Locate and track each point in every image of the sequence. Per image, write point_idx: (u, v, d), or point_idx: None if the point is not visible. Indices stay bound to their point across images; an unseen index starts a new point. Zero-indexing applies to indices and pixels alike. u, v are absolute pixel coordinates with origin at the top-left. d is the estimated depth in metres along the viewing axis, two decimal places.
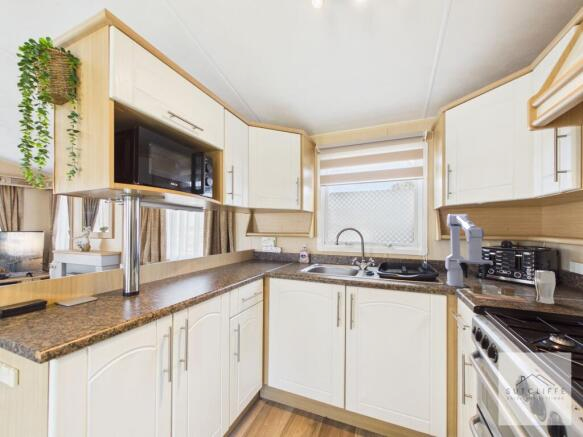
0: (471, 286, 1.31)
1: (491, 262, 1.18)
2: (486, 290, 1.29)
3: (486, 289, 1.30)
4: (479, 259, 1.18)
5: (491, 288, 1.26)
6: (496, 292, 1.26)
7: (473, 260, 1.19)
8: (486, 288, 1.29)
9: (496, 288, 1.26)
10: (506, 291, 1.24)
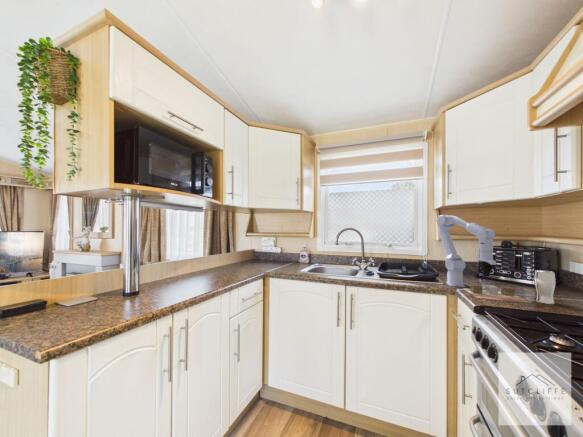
0: (471, 286, 1.31)
1: (490, 262, 1.24)
2: (486, 290, 1.29)
3: (486, 289, 1.30)
4: (481, 257, 1.30)
5: (491, 288, 1.26)
6: (496, 292, 1.26)
7: (479, 258, 1.32)
8: (486, 288, 1.29)
9: (496, 288, 1.26)
10: (506, 291, 1.24)
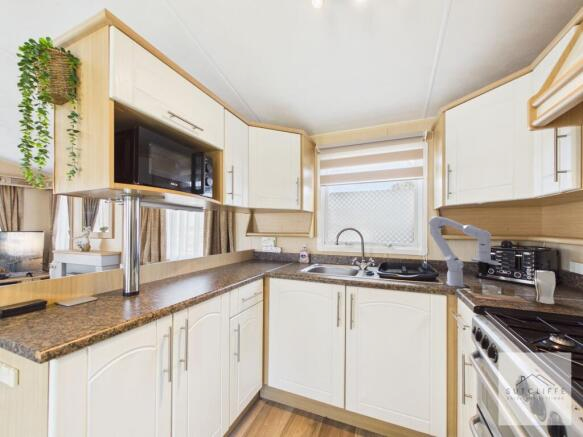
0: (471, 286, 1.31)
1: (494, 262, 1.30)
2: (486, 290, 1.29)
3: (486, 289, 1.30)
4: (482, 258, 1.35)
5: (491, 288, 1.26)
6: (496, 292, 1.26)
7: (478, 259, 1.37)
8: (486, 288, 1.29)
9: (496, 288, 1.26)
10: (506, 291, 1.24)
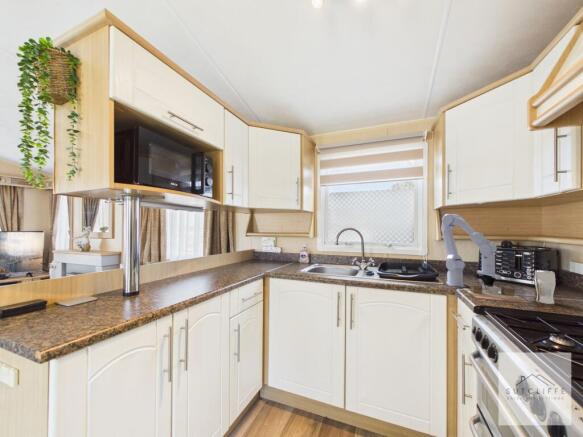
0: (471, 286, 1.31)
1: (495, 276, 1.25)
2: (486, 290, 1.29)
3: (486, 289, 1.30)
4: (485, 271, 1.31)
5: (491, 288, 1.26)
6: (496, 292, 1.26)
7: (481, 272, 1.33)
8: (486, 288, 1.29)
9: (496, 288, 1.26)
10: (506, 291, 1.24)
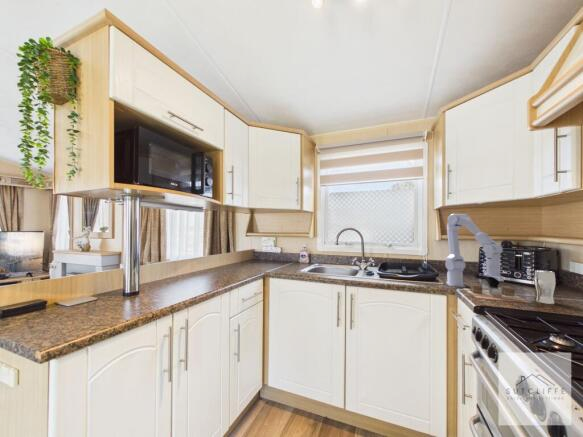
0: (471, 286, 1.31)
1: (498, 278, 1.20)
2: (489, 292, 1.25)
3: (489, 291, 1.26)
4: (488, 273, 1.26)
5: (495, 290, 1.22)
6: (500, 294, 1.22)
7: (486, 273, 1.29)
8: (490, 290, 1.25)
9: (500, 290, 1.22)
10: (506, 291, 1.24)
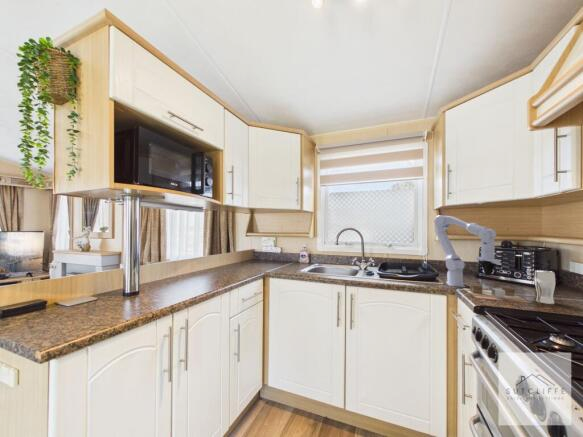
0: (471, 286, 1.31)
1: (495, 261, 1.26)
2: (492, 293, 1.23)
3: (492, 293, 1.23)
4: (484, 257, 1.31)
5: (498, 292, 1.20)
6: (503, 296, 1.19)
7: (481, 258, 1.34)
8: (493, 291, 1.22)
9: (503, 292, 1.19)
10: (506, 291, 1.24)
